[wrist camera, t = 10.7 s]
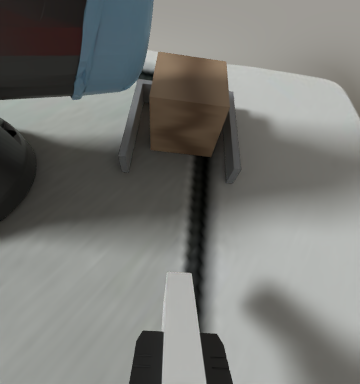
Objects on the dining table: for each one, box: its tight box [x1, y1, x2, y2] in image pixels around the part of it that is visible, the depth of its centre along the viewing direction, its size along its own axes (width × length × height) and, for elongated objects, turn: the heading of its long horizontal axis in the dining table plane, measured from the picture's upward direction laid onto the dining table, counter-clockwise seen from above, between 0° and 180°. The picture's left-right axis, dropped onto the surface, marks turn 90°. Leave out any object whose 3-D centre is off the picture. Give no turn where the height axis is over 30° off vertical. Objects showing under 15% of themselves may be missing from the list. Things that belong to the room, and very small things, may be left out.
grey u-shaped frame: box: [118, 79, 241, 183], centre depth 27 cm, size 14×14×3 cm
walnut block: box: [149, 52, 230, 157], centre depth 26 cm, size 8×8×8 cm
